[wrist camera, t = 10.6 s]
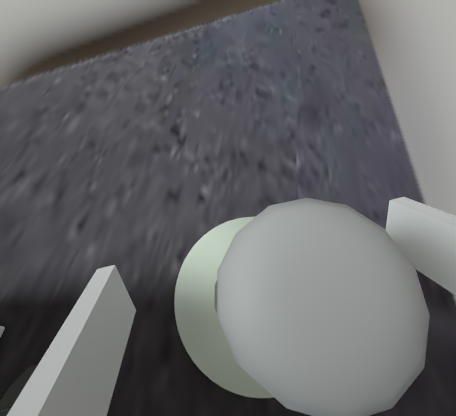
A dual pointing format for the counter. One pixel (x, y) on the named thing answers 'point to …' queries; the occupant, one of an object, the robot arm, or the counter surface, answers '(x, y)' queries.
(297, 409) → the salt shaker
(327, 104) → the counter surface
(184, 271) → the disc
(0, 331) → the milk
